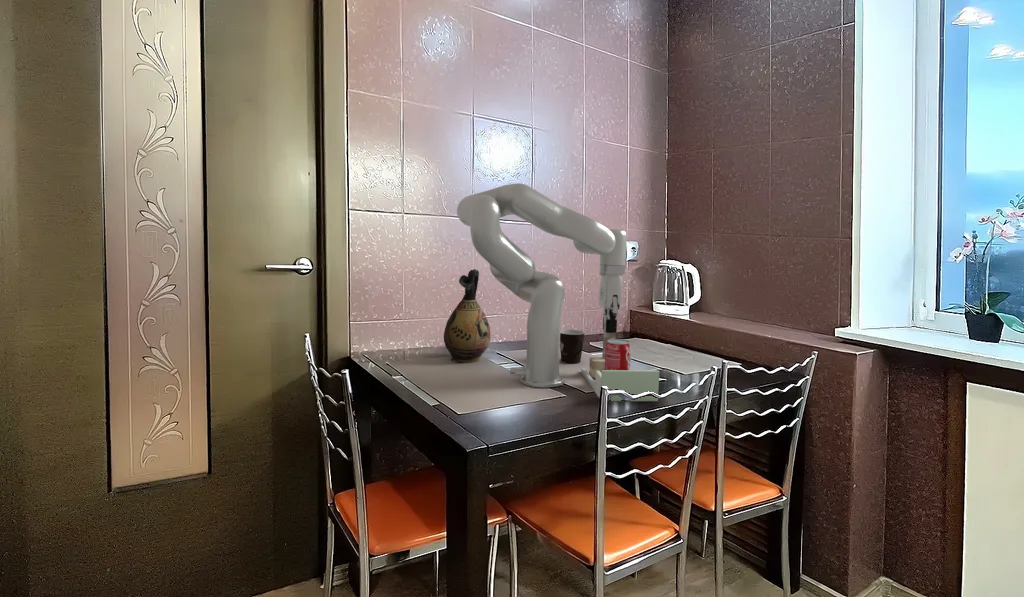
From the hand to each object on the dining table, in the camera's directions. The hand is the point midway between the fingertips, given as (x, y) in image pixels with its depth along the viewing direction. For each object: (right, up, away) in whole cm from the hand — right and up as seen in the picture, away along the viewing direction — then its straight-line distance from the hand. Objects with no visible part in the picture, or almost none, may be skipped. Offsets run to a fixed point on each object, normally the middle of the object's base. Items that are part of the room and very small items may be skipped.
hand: (609, 330), depth 172 cm
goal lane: (0, -15, -9) cm, 18 cm away
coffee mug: (-10, -12, +16) cm, 22 cm away
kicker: (0, -14, 0) cm, 14 cm away
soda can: (0, -15, -10) cm, 18 cm away
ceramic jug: (-44, -11, +18) cm, 49 cm away
